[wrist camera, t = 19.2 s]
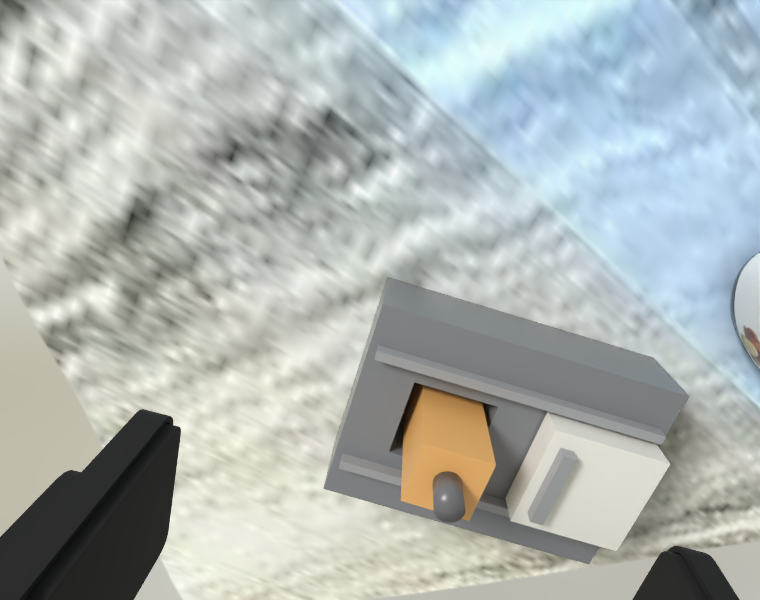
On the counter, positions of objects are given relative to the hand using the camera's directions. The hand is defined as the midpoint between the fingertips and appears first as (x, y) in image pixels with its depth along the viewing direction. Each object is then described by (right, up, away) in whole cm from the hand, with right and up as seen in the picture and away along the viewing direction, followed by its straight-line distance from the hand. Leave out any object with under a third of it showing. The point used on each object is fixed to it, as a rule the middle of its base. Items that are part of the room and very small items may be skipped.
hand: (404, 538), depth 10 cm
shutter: (+12, -6, +23) cm, 27 cm away
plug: (+4, -2, +28) cm, 28 cm away
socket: (+7, -3, +28) cm, 29 cm away
